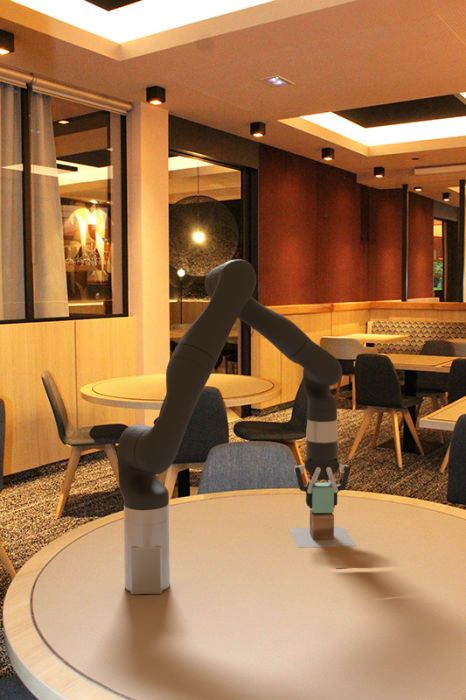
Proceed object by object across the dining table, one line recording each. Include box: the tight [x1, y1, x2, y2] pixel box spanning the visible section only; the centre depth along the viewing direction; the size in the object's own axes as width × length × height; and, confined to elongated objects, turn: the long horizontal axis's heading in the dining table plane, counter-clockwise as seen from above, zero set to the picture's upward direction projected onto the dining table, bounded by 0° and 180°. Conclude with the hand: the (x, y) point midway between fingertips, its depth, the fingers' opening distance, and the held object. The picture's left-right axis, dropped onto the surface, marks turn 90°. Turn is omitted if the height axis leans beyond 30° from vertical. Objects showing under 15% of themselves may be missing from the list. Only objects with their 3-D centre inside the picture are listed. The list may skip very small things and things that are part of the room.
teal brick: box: [309, 482, 335, 514], centre depth 173 cm, size 5×5×6 cm
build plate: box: [289, 526, 357, 549], centre depth 174 cm, size 14×14×1 cm
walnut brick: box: [309, 509, 335, 540], centre depth 173 cm, size 5×5×6 cm
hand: (321, 506), depth 173 cm, fingers closed on teal brick, 4 cm apart
